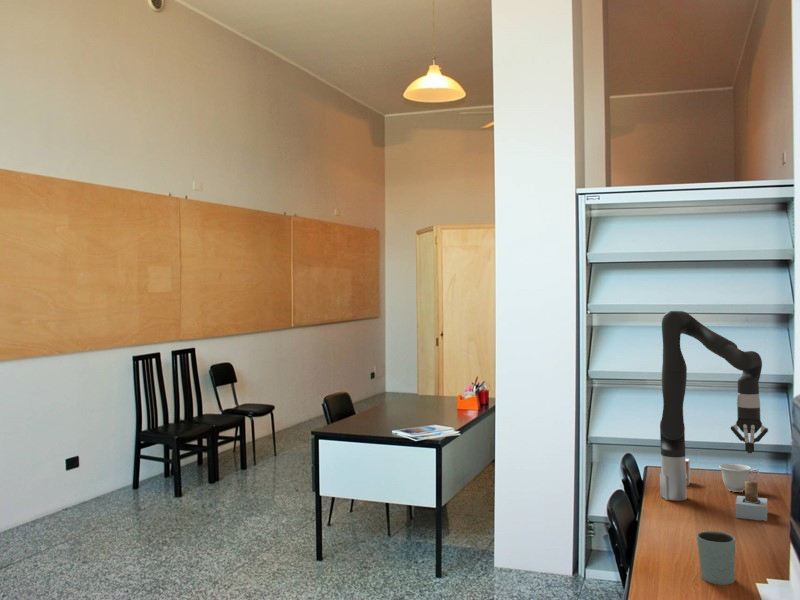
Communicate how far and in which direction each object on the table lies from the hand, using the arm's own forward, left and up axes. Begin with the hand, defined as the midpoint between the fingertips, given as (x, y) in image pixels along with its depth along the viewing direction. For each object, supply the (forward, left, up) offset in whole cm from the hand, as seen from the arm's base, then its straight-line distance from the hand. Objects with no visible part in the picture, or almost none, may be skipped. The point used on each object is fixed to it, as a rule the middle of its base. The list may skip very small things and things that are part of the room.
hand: (749, 452), depth 255 cm
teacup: (+12, +31, -23) cm, 40 cm away
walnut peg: (0, 0, -23) cm, 23 cm away
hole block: (0, 0, -23) cm, 23 cm away
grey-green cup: (-41, -56, -23) cm, 73 cm away
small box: (-6, +47, -23) cm, 53 cm away
